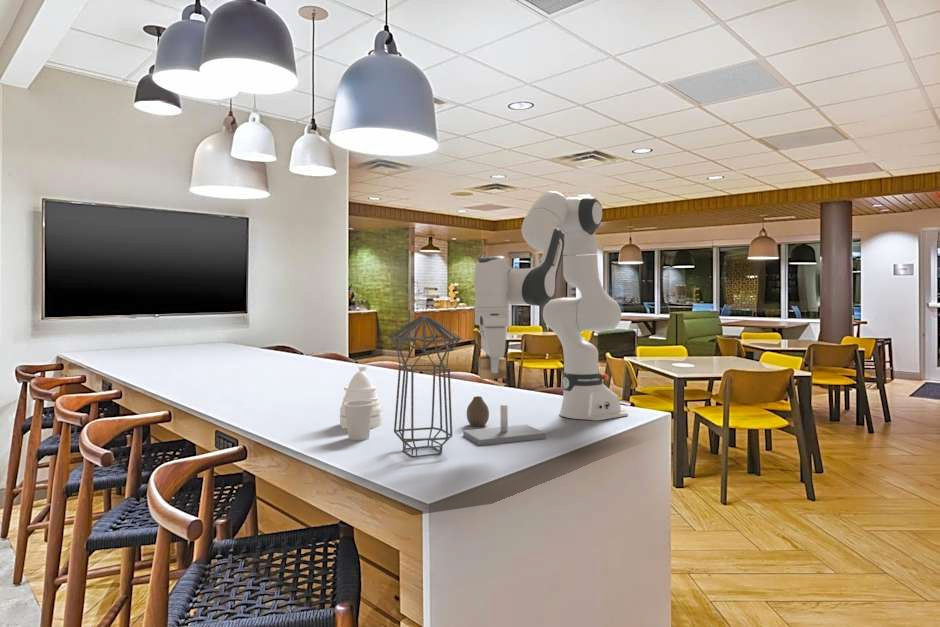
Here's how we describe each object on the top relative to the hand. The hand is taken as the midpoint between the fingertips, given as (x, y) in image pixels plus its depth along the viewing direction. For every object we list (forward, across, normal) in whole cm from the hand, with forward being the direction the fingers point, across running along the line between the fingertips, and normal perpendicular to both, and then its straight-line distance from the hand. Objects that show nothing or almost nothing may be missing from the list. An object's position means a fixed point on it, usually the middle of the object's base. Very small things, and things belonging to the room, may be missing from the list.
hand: (492, 370), depth 155 cm
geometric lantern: (+20, +2, -18) cm, 27 cm away
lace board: (+20, -11, +4) cm, 23 cm away
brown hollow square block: (+2, 0, 0) cm, 2 cm away
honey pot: (+21, -32, -37) cm, 53 cm away
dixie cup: (+20, -14, -36) cm, 44 cm away
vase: (+21, -27, -1) cm, 34 cm away
